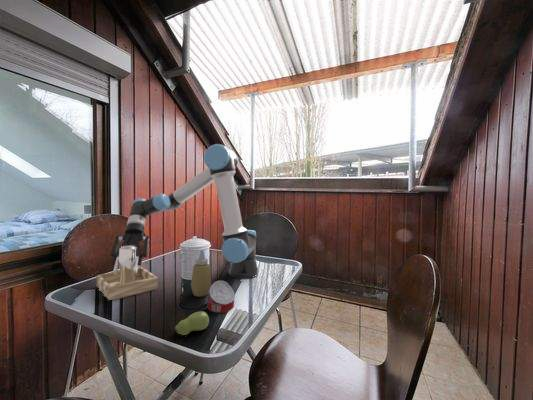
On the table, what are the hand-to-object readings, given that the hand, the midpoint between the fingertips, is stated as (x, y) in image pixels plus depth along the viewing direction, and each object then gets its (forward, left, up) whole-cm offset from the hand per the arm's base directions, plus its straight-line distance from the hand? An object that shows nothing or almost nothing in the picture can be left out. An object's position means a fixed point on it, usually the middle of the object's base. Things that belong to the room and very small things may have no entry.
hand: (125, 272), depth 101 cm
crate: (+3, -2, -8) cm, 8 cm away
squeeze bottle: (-22, -22, -8) cm, 32 cm away
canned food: (-36, -22, -8) cm, 43 cm away
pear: (-44, -6, -8) cm, 45 cm away
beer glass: (+3, -2, -6) cm, 7 cm away
